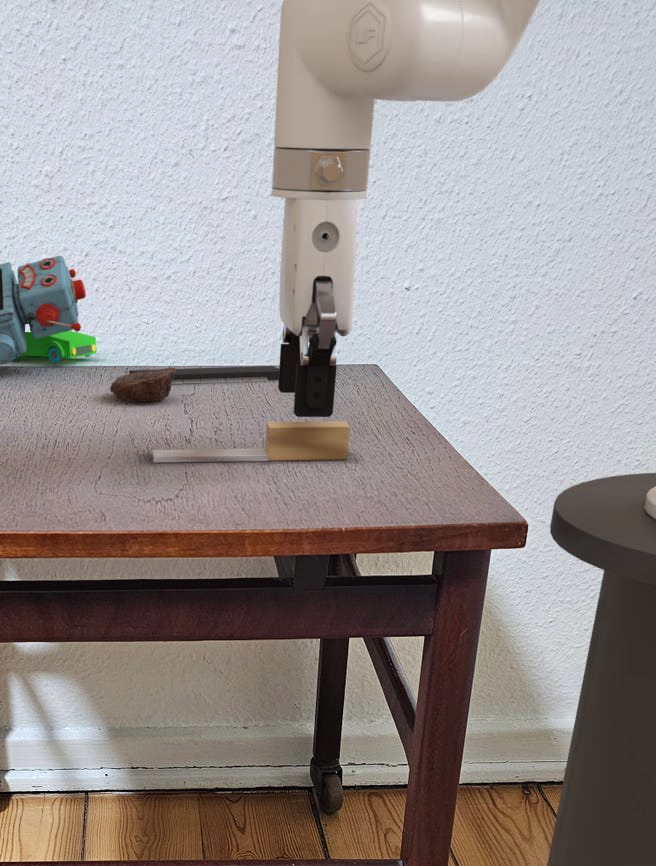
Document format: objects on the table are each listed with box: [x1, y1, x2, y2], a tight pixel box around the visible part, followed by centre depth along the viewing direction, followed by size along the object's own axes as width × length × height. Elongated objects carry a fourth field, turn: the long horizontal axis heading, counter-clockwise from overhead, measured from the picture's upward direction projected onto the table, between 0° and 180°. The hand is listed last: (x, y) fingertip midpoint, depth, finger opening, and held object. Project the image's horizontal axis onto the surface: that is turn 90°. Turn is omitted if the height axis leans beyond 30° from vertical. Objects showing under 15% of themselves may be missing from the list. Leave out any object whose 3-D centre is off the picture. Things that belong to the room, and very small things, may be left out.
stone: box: [109, 367, 177, 402], centre depth 126 cm, size 7×7×3 cm
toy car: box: [13, 330, 98, 363], centre depth 147 cm, size 11×7×7 cm, turn 58°
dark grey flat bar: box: [128, 365, 279, 385], centre depth 138 cm, size 18×1×5 cm
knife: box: [151, 420, 351, 464], centre depth 103 cm, size 17×3×3 cm, turn 93°
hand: (304, 403), depth 102 cm, fingers open, 9 cm apart
